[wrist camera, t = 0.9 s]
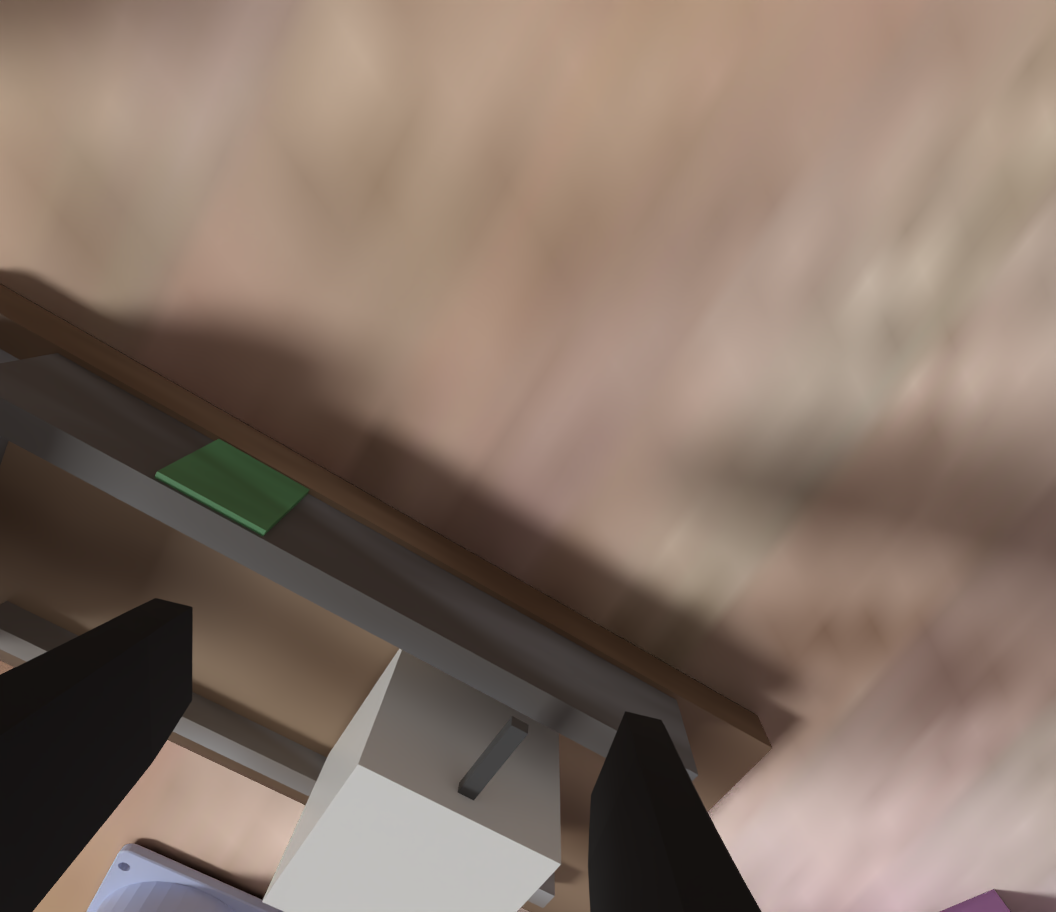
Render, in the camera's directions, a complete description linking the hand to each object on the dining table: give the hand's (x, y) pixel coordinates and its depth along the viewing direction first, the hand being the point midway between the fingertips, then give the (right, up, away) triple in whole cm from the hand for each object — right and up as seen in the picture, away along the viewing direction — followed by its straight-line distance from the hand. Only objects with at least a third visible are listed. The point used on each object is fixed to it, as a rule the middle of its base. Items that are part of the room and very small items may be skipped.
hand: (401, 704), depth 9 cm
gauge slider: (0, -5, +10) cm, 11 cm away
